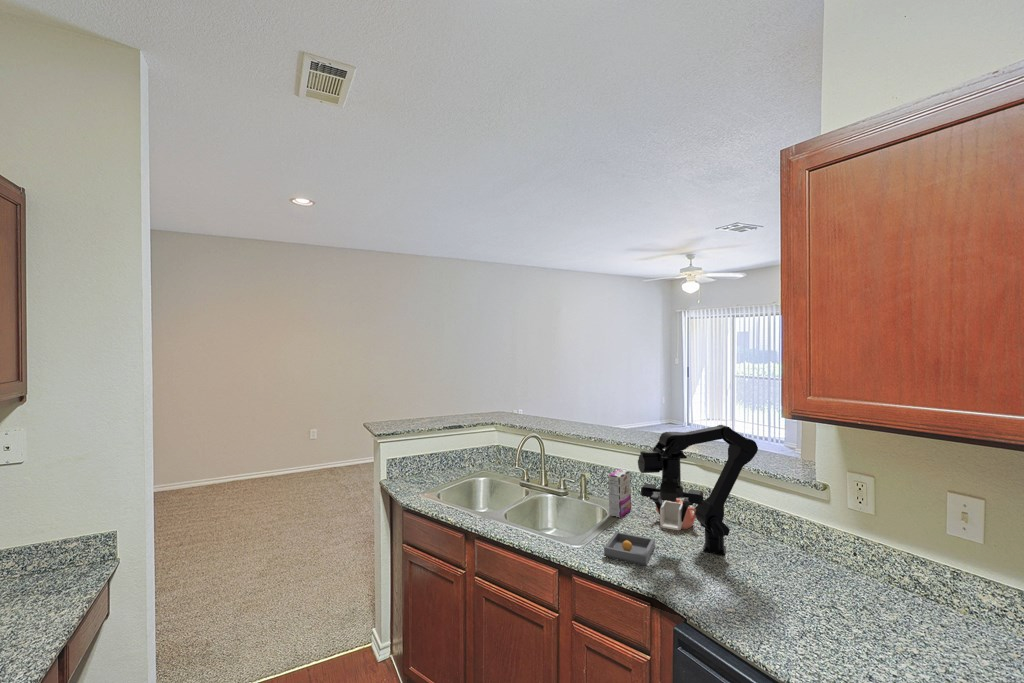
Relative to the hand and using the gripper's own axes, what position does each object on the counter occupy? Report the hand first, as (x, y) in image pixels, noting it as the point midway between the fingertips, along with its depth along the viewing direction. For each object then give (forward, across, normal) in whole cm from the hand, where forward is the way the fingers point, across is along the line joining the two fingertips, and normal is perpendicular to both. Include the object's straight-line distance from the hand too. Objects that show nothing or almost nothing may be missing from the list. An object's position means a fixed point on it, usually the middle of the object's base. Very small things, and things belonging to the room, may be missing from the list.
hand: (672, 519), depth 144 cm
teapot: (+11, -3, +25) cm, 27 cm away
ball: (+8, -13, -8) cm, 17 cm away
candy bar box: (+10, -24, +26) cm, 37 cm away
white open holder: (+2, 0, 0) cm, 2 cm away
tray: (+10, -12, -7) cm, 17 cm away
